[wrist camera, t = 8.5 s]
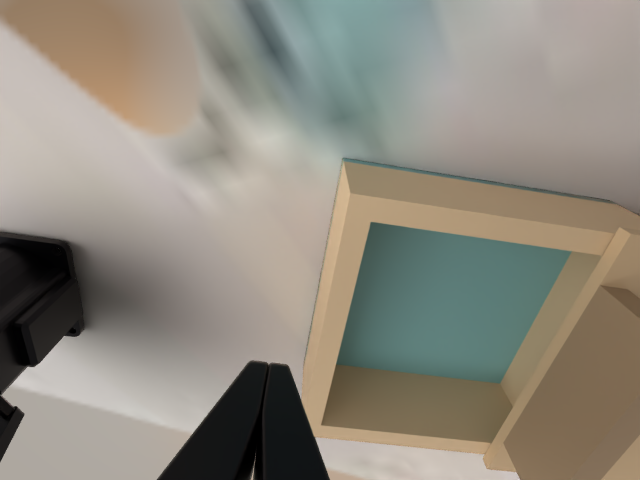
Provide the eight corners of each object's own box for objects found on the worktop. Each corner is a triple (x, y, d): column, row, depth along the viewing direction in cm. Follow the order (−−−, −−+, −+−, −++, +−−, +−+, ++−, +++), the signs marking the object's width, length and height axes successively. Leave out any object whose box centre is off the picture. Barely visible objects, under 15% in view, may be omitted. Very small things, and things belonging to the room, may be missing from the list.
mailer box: (303, 364, 24) (299, 435, 20) (342, 158, 18) (350, 193, 13) (504, 388, 25) (544, 460, 21) (609, 200, 19) (697, 246, 14)
